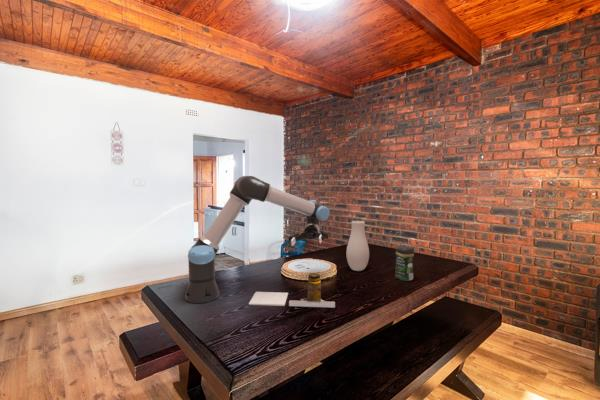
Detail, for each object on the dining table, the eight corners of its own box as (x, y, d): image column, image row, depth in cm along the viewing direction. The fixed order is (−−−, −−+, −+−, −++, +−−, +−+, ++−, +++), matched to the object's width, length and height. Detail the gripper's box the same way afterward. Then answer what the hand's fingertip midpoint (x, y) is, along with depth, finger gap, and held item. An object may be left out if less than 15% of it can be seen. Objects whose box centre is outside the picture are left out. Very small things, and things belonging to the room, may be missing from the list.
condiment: (324, 301, 136) (324, 275, 136) (309, 305, 132) (309, 278, 131) (315, 296, 142) (315, 271, 142) (300, 300, 138) (300, 274, 137)
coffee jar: (392, 277, 170) (393, 245, 168) (402, 275, 173) (403, 243, 172) (405, 282, 161) (405, 248, 160) (415, 280, 164) (416, 247, 163)
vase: (341, 268, 187) (342, 220, 185) (359, 265, 193) (360, 219, 191) (354, 274, 175) (355, 223, 173) (373, 271, 180) (374, 222, 178)
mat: (248, 304, 132) (248, 303, 132) (255, 292, 146) (255, 291, 146) (284, 305, 131) (284, 304, 131) (288, 293, 145) (288, 292, 145)
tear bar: (289, 306, 131) (289, 301, 131) (289, 304, 132) (289, 300, 132) (334, 307, 129) (334, 303, 129) (334, 306, 131) (334, 301, 131)
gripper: (335, 235, 161) (332, 247, 141) (290, 240, 166) (281, 251, 145) (333, 222, 161) (330, 231, 140) (288, 227, 165) (279, 236, 144)
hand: (305, 242), depth 142 cm, fingers open, 13 cm apart
